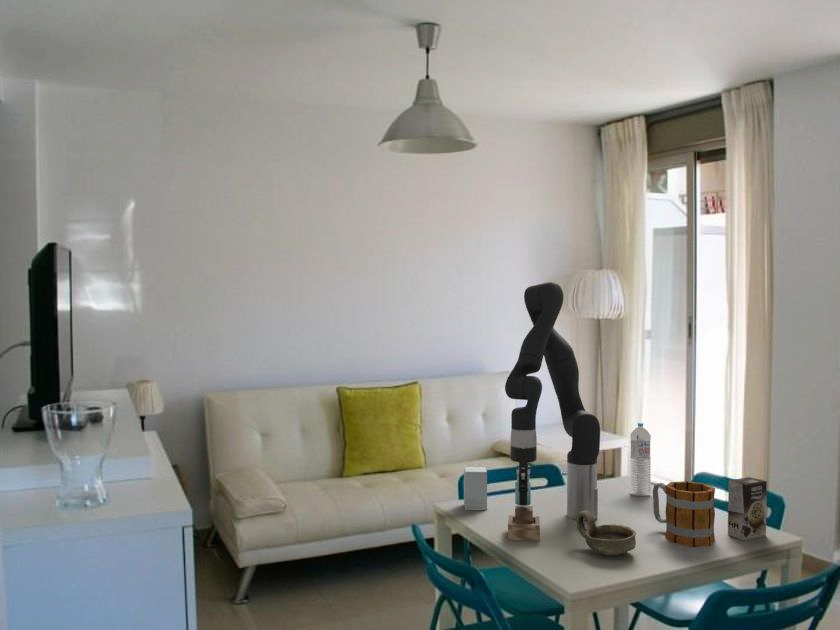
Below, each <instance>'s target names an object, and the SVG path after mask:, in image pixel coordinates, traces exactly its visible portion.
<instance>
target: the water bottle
mask: <svg viewBox="0 0 840 630" xmlns="http://www.w3.org/2000/svg"><path fill="white" fill-rule="evenodd" d="M651 437H652V436H651V433H650V432H649V431H648V430H647V429H646V428H645V427H644V423H643V422H637V427H636V428H635V429H633V430H632V431H631V432H630V457H629V458H630V459H629V461H630V465H629V466H630V468H629V470H630V471H629V472H630V474H629V477H630V478H629V485H630V486H629V492H630V494H631V495H632V496H635V497H649V496H651V487H652V486H651V484H652V483H651V478H652V477H651V473H652V472H651V470H652V469H651V468H652V467H651V466H652V465H651V459H652V458H651V440H652V438H651Z"/></svg>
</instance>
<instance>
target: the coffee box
mask: <svg viewBox="0 0 840 630" xmlns="http://www.w3.org/2000/svg"><path fill="white" fill-rule="evenodd" d="M767 484H768V481H767V480H763V479H760V478H753V477H750V476H749V477H741V478H736V479H735V478H734V479H729V480H728V495H727V497H728V499H727V500H728V503H727V535H728V536H731V537H734V538H737V539H740V540H741V541H748V540H753V539H758V538H762V537H767V499H768V498H767V497H768V494H767V493H768V492H767V488H768V485H767Z"/></svg>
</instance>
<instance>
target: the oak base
mask: <svg viewBox="0 0 840 630" xmlns="http://www.w3.org/2000/svg"><path fill="white" fill-rule="evenodd" d="M507 519H508V520H507V522H508V523H507V540H508V541H528V542H529V541H530V542H531V541H532V542H533V541H534V542H535V541H536V542H540V541H541V525H540V523H541V522H540V516H537V515H536V516H535V515H533V524H517V523H515V514H514V515H513V514H511V515H510V514H509V515H508V518H507Z"/></svg>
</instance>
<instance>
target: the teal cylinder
mask: <svg viewBox="0 0 840 630" xmlns="http://www.w3.org/2000/svg"><path fill="white" fill-rule="evenodd" d="M531 483H532V482H531V481H529V484H528V488H527V489H528V491H527V505H520V504H519V491H518V489H519V484H518V483H517V481H515V484H514V485H515V488H514V489H515V490H514V491H515V492H514V494H515V496H514V497H515V498H514V499H515V500H514V504H515V505H520V506H531V503H532V502H531V499H532V498H531V497H532V496H531V495H532V494H531V493H532V492H531V485H532V484H531ZM521 487H526V485H521Z"/></svg>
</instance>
